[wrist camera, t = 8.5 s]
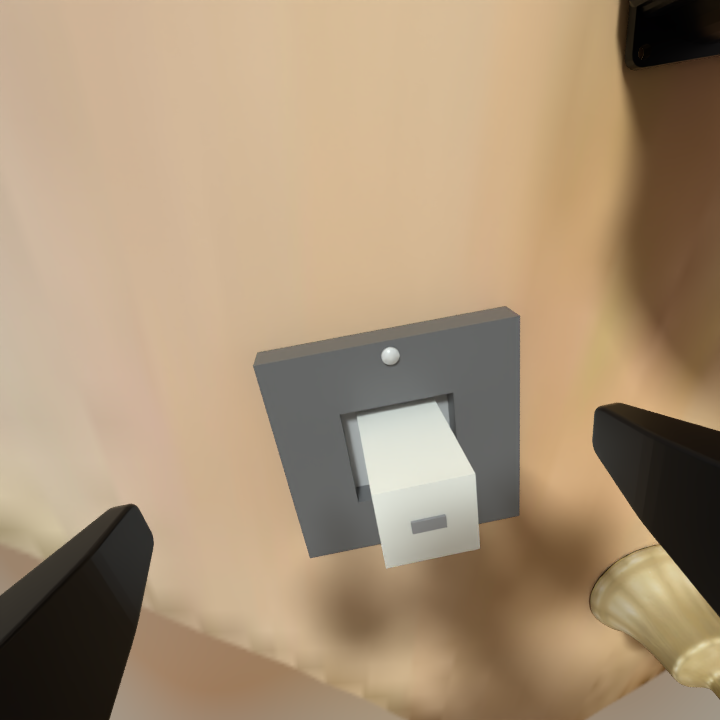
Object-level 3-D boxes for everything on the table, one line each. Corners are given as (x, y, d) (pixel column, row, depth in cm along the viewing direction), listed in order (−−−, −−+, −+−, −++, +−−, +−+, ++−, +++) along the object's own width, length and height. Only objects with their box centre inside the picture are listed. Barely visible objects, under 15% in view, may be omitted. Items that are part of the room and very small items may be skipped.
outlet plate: (505, 306, 20) (522, 317, 18) (507, 496, 25) (521, 518, 23) (257, 352, 19) (252, 367, 18) (310, 536, 24) (309, 561, 23)
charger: (433, 396, 21) (476, 475, 15) (439, 459, 23) (481, 550, 17) (356, 412, 21) (371, 496, 15) (368, 474, 23) (386, 570, 17)
